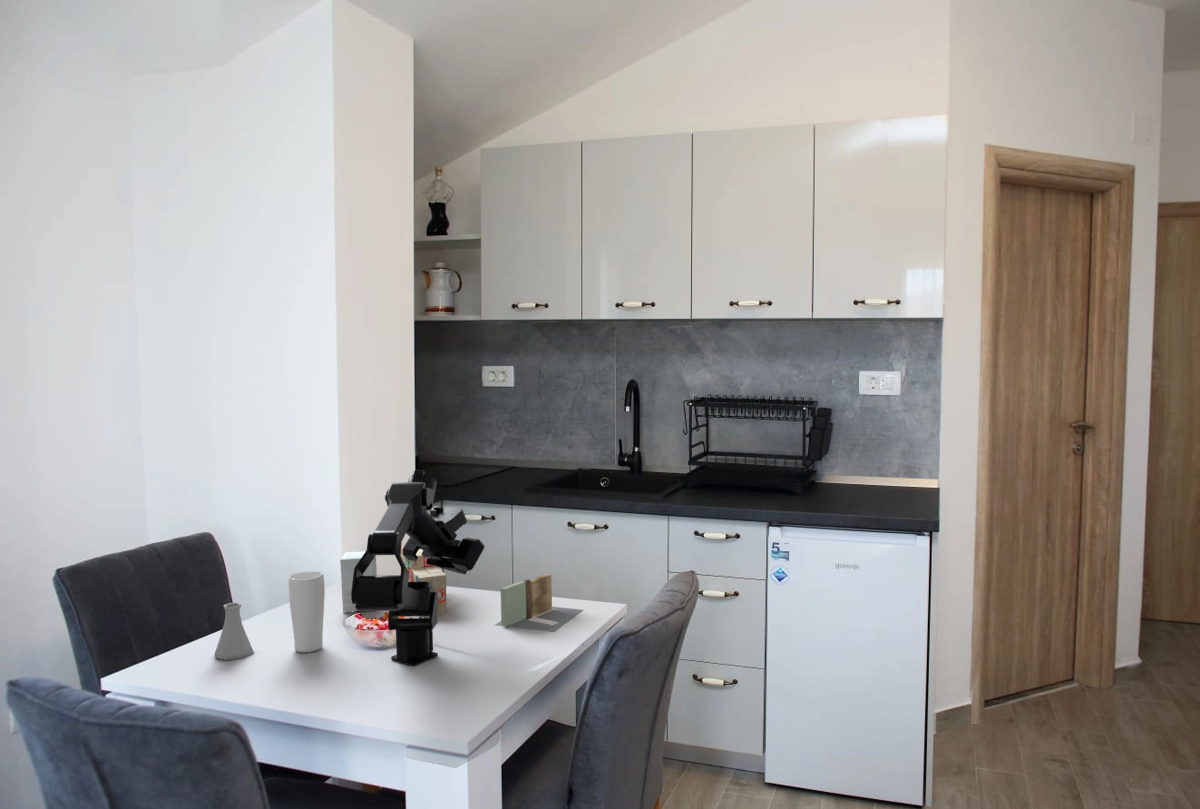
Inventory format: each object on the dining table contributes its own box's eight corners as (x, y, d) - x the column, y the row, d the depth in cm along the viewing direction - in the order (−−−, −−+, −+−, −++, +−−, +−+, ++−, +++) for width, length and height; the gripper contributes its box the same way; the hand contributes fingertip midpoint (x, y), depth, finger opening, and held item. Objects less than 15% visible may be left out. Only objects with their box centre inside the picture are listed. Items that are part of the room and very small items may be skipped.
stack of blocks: (447, 615, 191) (446, 561, 190) (419, 619, 188) (418, 564, 187) (426, 591, 210) (424, 542, 210) (400, 595, 208) (399, 545, 207)
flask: (208, 655, 167) (205, 605, 167) (244, 645, 172) (242, 597, 172) (223, 663, 162) (221, 612, 162) (260, 653, 167) (258, 604, 167)
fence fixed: (528, 619, 185) (527, 581, 184) (522, 618, 186) (521, 580, 185) (552, 609, 192) (551, 573, 191) (547, 608, 193) (546, 572, 192)
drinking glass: (298, 657, 165) (295, 581, 164) (285, 648, 170) (282, 575, 169) (332, 649, 169) (329, 575, 168) (318, 640, 174) (315, 569, 173)
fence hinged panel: (522, 617, 185) (521, 581, 185) (526, 618, 185) (525, 581, 184) (501, 625, 180) (500, 588, 179) (505, 626, 179) (504, 589, 179)
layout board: (554, 633, 176) (554, 631, 176) (494, 626, 181) (494, 624, 181) (583, 611, 191) (583, 609, 191) (528, 605, 196) (528, 603, 196)
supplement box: (378, 602, 201) (377, 549, 201) (374, 611, 194) (373, 557, 193) (346, 604, 200) (344, 551, 200) (341, 613, 193) (339, 558, 192)
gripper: (476, 500, 166) (515, 545, 175) (411, 492, 177) (451, 535, 186) (448, 547, 160) (490, 591, 170) (382, 536, 171) (425, 578, 180)
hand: (463, 572), depth 177 cm, fingers closed
